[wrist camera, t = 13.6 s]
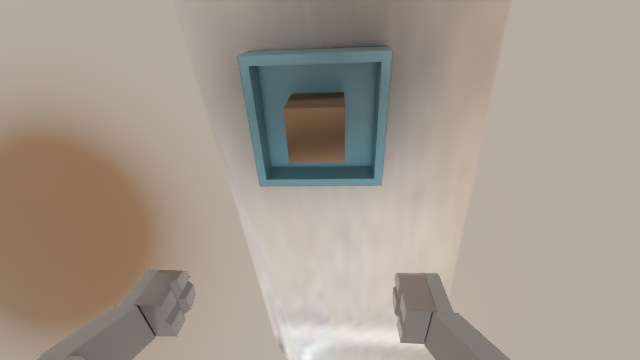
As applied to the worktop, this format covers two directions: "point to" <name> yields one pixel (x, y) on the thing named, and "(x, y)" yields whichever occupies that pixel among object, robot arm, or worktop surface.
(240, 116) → the worktop surface
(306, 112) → the walnut block
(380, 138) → the tray
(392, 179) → the worktop surface
